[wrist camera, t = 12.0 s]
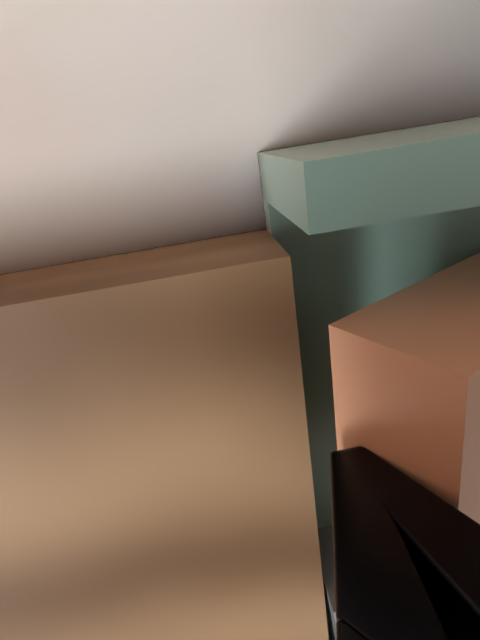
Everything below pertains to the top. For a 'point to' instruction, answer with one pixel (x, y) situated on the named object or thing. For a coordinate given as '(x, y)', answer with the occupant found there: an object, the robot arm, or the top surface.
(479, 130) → the box
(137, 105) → the top surface
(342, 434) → the terracotta tile
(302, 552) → the walnut board
